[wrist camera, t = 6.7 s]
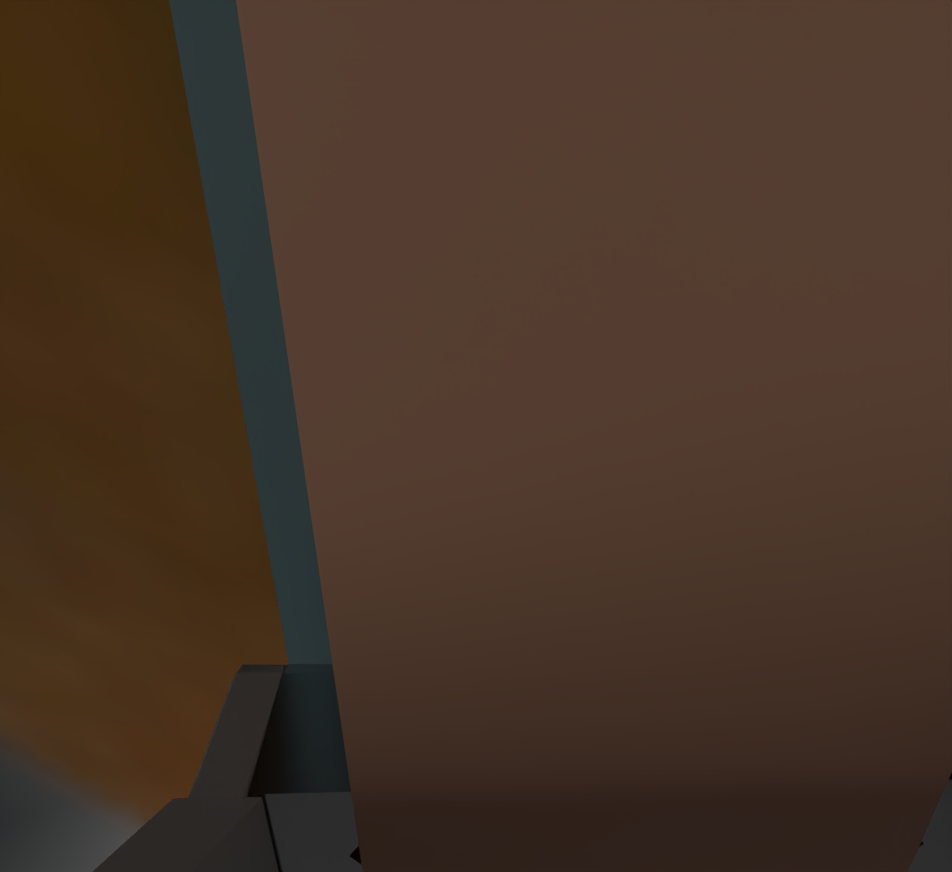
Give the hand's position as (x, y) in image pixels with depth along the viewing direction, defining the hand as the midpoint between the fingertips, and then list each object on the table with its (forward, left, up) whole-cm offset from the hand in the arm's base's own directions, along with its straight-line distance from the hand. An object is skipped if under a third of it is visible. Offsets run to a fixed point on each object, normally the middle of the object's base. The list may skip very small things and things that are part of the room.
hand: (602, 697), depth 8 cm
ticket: (-3, 0, 0) cm, 3 cm away
